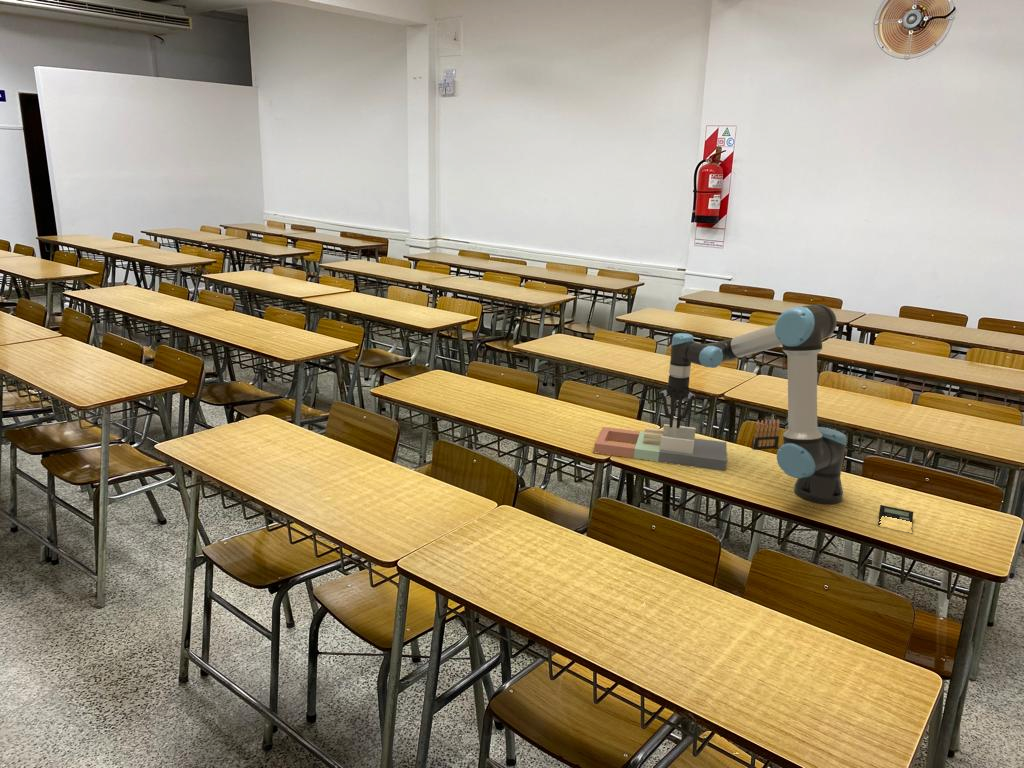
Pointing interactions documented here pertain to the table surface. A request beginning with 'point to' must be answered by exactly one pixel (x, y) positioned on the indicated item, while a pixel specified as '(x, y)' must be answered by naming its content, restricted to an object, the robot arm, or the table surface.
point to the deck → (665, 447)
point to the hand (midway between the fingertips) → (673, 435)
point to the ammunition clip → (766, 436)
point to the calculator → (895, 513)
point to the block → (653, 436)
